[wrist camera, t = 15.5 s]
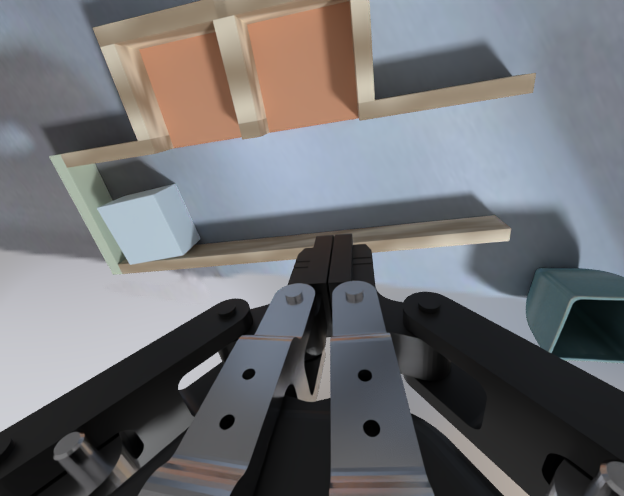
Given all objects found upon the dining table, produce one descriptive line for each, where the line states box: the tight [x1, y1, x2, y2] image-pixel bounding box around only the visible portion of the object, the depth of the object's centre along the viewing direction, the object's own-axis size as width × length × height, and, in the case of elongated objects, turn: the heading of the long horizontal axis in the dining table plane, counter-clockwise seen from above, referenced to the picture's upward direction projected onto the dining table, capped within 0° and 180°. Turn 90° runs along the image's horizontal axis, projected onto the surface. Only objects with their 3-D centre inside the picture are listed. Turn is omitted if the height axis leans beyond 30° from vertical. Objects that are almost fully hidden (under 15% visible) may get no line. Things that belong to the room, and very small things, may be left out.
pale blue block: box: [97, 184, 200, 265], centre depth 38 cm, size 8×8×5 cm
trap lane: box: [49, 0, 536, 275], centre depth 32 cm, size 26×50×4 cm, turn 99°
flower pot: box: [526, 268, 624, 363], centre depth 34 cm, size 9×9×9 cm
